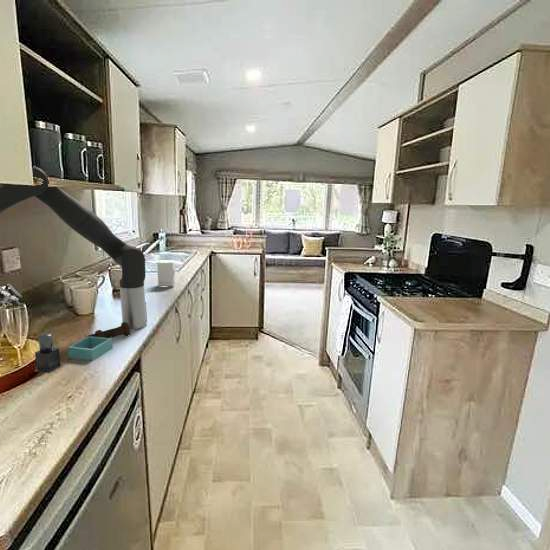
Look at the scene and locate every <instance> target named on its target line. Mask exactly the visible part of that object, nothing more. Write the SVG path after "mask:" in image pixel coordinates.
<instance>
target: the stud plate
mask: <svg viewBox="0 0 550 550" xmlns="http://www.w3.org/2000/svg"><path fill="white" fill-rule="evenodd" d="M60 363H61V364H60V365H58V366H57V367H55V368H53V369H51V370H50V371H49V370H41V369H36V370H35V371H34V372H38V373H45V374H51V373H52V372H54V371H56V370H58V369H59V368H61V367H63V366H65V365H66V364H68V362H63V361H60Z"/></svg>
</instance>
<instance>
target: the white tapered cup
mask: <svg viewBox="0 0 550 550" xmlns="http://www.w3.org/2000/svg"><path fill="white" fill-rule="evenodd" d="M156 264H157V283H158V284H157V286H158V288H161V287H160V286H174V287H175V285H176V277H175V276H176V273H175V260H174V259H171V260H170V259H168V260H167V259H165V260H164V259H162V260H159V261H157V263H156ZM174 284H175V285H174Z"/></svg>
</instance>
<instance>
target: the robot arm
mask: <svg viewBox="0 0 550 550" xmlns="http://www.w3.org/2000/svg"><path fill="white" fill-rule="evenodd" d="M36 166H37V165H34V166H33V175H34V177H37V178H41V179H43V180H44V181H43V182H42V183H43V184H41V185H36V186H28V185H10V184H5V183H3V185H1V186H0V214H1V213H2V212H5V210H9V208H11V207H13V206H15V205H17V204H19V203H21V202H23V201H25V200H28V199H30V198H33V197H35V198H37V199H38V200H39V201H40V202H43V203H44V204H45V205H46V206H48V207H49V208H50V209H51V210H52V211H53V212H54V213H55V214H56V215H57V216H58V217H59V219H61V220H62V221H63V222H64V223H65V225H67V226H68V227H69V228H71V229H72V230H73V231H75V232H76V233H77V234H78V235H80V236H81V237H83V238H84V239H86V240H87V241H89V242H90V243H91V244H93V245H94V246H97V247H98V248H100V249H101V250H103V252H105V253H106V254H107V255H108V256H109V257H110V258H111V259H112V260H113V261H114V262H115V263H116V264H117V265H118V266H120V268H121V278H120V280H119V293H120V305H121V321H122V322H121V323H123V322H126V323H128V325H129V327H130V329H134V330H138V329H137V328H140V329H142V328H141V327H143V328H145V327H146V326H147V323H148V312H147V302H146V293H145V279H146V257H145V254H144V252H143V251H142V250H141V249H140V248H138V247H135V246H131V245H129V244H127V243H126V242H125V241H123V240H122V239H121V238H119V237H117V235H116V234H114V233H113V232H112V231H111V229H110V228H109V227H108V225H107V224H106V223H105V222H104V220H103V219H102V218H100V216H98V215H97V214H96V213H94V211H92V210H91V209H90V208H88V207H87V206H85V205H84V204H83V203H81V202H80V201H79V200H77V199H76V198H74V197H73V196H72V195H69V194H68V193H67V192H66V191H64V190H63V189H62V188H60V187H59V186H58V185H57V187H48V184H49V181H48V177H49V176H48V175H47V174H46V172H45V171H44V170H43V169H41V168H40V167H39V168H38V166H37V167H36ZM47 176H48V177H47ZM22 298H23V295H22V294H21V293H19V291H17V290H16V289H15V288H14V286H13V285H11V284H10V283H7V284H5V285H4V286H1V285H0V303H2V304H8V305H11V307H12V306H21V305H23V304H22V303H21V302H20V300H21V299H22ZM146 322H147V323H146ZM145 325H146V326H145ZM144 326H145V327H144Z"/></svg>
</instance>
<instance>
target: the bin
mask: <svg viewBox="0 0 550 550" xmlns="http://www.w3.org/2000/svg"><path fill="white" fill-rule="evenodd" d="M87 336H88V335H87ZM87 336H86V337H84V338H83V339H81V340H79V341H77V342H75V343H73V344H71V345H69V346H68V347H67V354H68V358H70V359H78V360H85V361H95V360H96V359H98V358H100V357H101V356H102V355H104V354H106V353H107V352H109V351H111V350H112V349H114V347H113V345H114V344H113V338H101V337H92V336H88V337H87Z"/></svg>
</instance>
